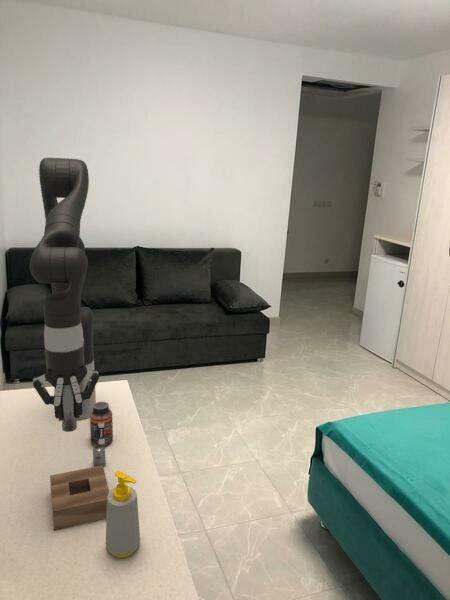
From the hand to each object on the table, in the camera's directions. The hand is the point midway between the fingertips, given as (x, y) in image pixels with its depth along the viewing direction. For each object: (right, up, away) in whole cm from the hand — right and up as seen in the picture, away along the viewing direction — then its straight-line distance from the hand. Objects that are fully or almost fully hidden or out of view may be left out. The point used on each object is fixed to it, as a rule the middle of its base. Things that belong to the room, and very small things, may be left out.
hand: (68, 417), depth 105 cm
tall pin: (0, -3, +1) cm, 3 cm away
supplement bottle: (0, -14, +29) cm, 32 cm away
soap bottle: (+13, -26, -5) cm, 29 cm away
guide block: (+1, -21, +6) cm, 22 cm away
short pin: (+2, -17, +19) cm, 26 cm away
